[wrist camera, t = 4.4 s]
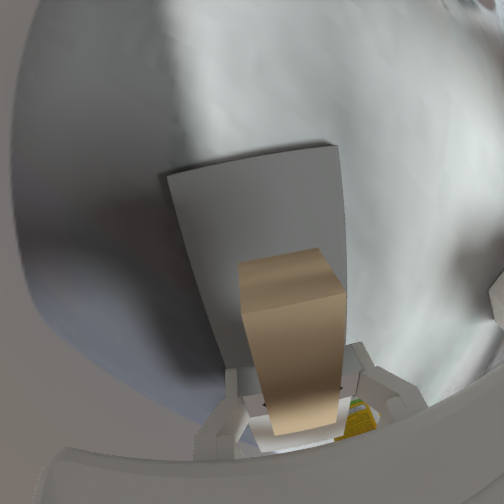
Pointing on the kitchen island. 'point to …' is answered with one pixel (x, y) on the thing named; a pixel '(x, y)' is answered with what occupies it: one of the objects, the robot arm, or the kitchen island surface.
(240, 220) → the mat
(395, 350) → the kitchen island surface
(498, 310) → the medicine bottle
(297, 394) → the putty knife
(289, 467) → the robot arm
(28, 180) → the kitchen island surface
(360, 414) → the supplement bottle
